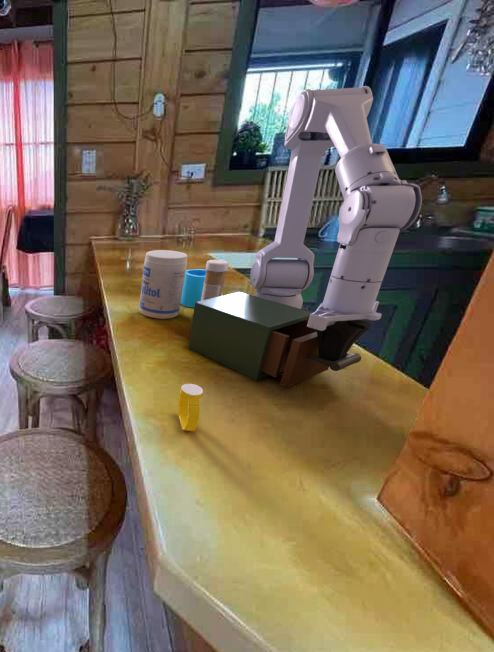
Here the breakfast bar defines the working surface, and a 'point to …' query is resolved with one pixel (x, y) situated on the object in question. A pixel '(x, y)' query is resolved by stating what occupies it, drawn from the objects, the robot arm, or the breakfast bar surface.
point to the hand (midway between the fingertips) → (328, 364)
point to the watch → (189, 406)
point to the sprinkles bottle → (214, 279)
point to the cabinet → (239, 329)
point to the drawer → (299, 355)
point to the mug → (193, 287)
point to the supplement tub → (162, 283)
